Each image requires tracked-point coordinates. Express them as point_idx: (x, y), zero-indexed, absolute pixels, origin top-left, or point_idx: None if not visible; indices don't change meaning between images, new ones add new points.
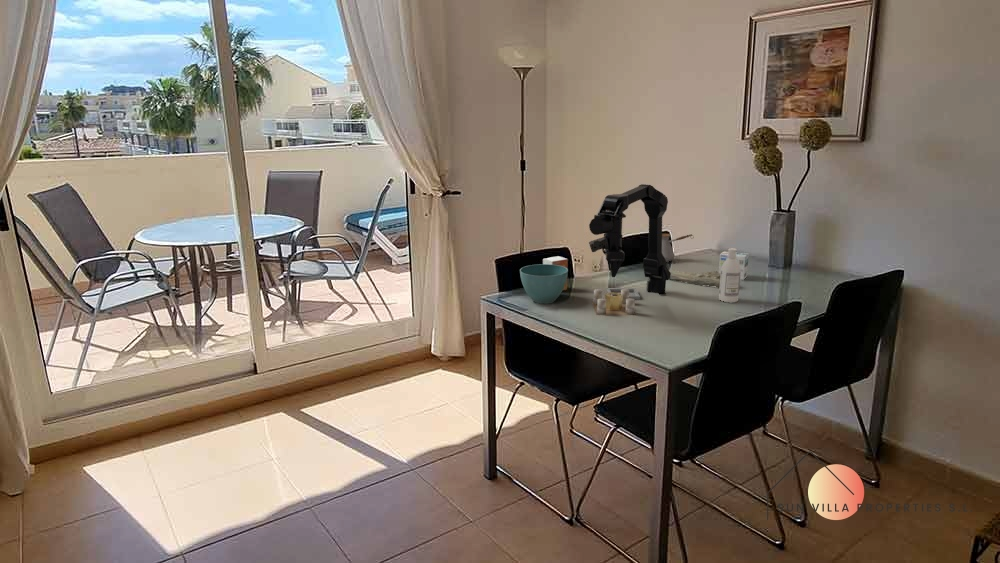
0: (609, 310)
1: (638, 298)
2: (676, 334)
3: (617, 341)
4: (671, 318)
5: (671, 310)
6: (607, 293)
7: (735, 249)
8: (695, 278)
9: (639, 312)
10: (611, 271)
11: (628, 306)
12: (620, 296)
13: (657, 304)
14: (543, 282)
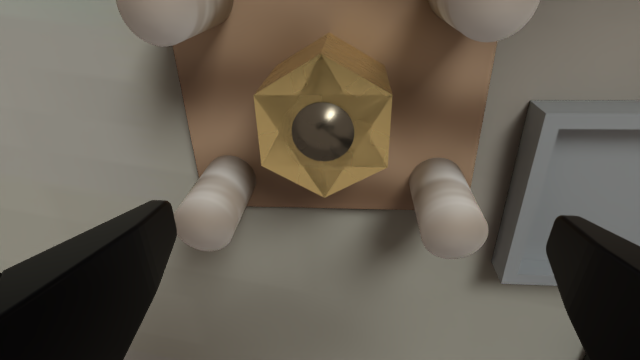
0: (271, 62)
1: (499, 267)
2: None
3: None
4: (216, 324)
5: (330, 347)
6: (364, 82)
7: None
8: None
9: (292, 225)
10: (62, 245)
11: (190, 190)
12: (283, 175)
13: (426, 320)
14: None
